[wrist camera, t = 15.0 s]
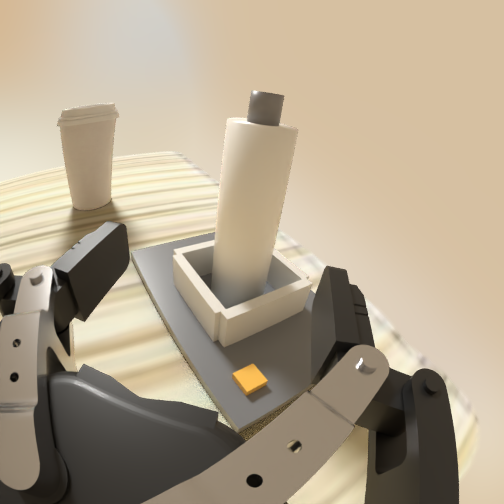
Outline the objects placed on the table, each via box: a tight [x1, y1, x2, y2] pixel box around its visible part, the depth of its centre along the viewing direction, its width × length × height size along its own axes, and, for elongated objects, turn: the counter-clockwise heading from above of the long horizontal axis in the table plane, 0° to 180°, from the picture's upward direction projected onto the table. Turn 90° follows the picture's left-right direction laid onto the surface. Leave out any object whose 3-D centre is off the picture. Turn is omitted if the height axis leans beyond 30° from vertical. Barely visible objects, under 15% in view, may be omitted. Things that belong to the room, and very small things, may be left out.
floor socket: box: [131, 232, 315, 433], centre depth 23 cm, size 20×13×4 cm, turn 36°
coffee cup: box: [57, 103, 119, 210], centre depth 33 cm, size 10×10×15 cm
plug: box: [211, 91, 298, 309], centre depth 19 cm, size 4×4×16 cm
